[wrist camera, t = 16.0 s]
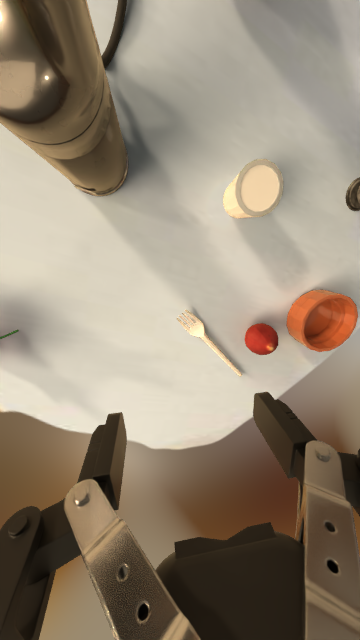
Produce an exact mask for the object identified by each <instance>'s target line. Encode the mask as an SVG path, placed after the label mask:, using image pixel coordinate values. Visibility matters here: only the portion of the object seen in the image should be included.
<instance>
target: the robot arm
mask: <svg viewBox="0 0 360 640" xmlns="http://www.w3.org/2000/svg"><path fill="white" fill-rule="evenodd" d="M126 4H127V0H118V6H117V12H116V17H115V22H114V27H113V31H112V34H111V37H110V40H109V43H108V46H107V48H106V50H105V52H104V53H103V55H102V56H101V53H100V49H99V45H98V42H97V38H96V34H95V31H94V27H93V24H92V20H91V16H90V12H89V8H88V4H87V1H86V0H0V123H1V124H2V125H3V126H5V127H6V128H7V129H8V130H9V131H11V132H12V133H13V134H14V135H15V136H17V137H18V138H19V139H20V140H21V141H23V142H24V143H25V144H26V145H28V146H29V147H30V148H31V149H33V150H34V151H35V152H36V153H37V154H39V155H40V156H41V157H42V158H43V159H45V160H46V161H47V162H48V163H50V164H51V165H52V166H53V167H54V168H56V169H57V170H58V171H59V172H60V173H62V174H63V175H64V176H65V177H66V178H68V179H69V180H70V181H71V182H72V183H73V184H74V185H75V186H74V187H76V188H77V189H80V190H82V191H83V192H85V193H87V194H90V195H94V196H106V195H109V194H112V193H114V192H115V191H117V190H118V189H119V188H120V187H121V186H122V184H123V183H124V181H125V179H126V176H127V172H128V155H127V151H126V147H125V144H124V142H123V138H122V134H121V130H120V126H119V122H118V118H117V114H116V111H115V107H114V103H113V99H112V95H111V91H110V87H109V83H108V80H107V76H106V73H105V68H106V67H107V66H108V65H109V63H110V61H111V59H112V57H113V55H114V53H115V50H116V48H117V45H118V42H119V39H120V35H121V31H122V27H123V22H124V17H125V11H126ZM253 416H254V420H255V423H256V425H257V427H258V428H259V430H260V432H261V433H262V435H263V437H264V438H265V440H266V442H267V443H268V445H269V447H270V449H271V450H272V452H273V454H274V455H275V457H276V458H277V460H278V462H279V464H280V465H281V467H282V469H283V470H284V472H285V474H286V475H287V477H288V478H293V477H296V478H297V479H298V481H299V490H298V513H297V528H296V537H295V539H294V538H292V537H290V536H288V535H285V534H283V533H279V532H275V531H274V530H273V527H272V525H271V523H270V522H269V523H264V524H259V525H254V526H250V527H247V528H245V529H243V530H242V531H240V532H239V533H237V534H236V535H234V536H232V537H231V538H229V539H228V540H217V539H209V538H201V537H197V538H192V539H188V540H183V541H178V542H175V552H174V553H172V554H171V555H169V556H168V557H167V558H166V559H165V560H164V561H163V562H162V563H161V564H160V565H159V566H158V567H157V569H156V570H154V568H153V566H152V565H151V563H150V562H149V560H148V558H147V557H146V555H145V553H144V552H143V550H142V549H141V547H140V545H139V544H138V542H137V541H136V539H135V538H134V536H133V534H132V533H131V531H130V529H129V528H128V526H127V525H126V523H125V522H124V520H123V519H121V520H120V519H119V517H118V516H117V514H116V513H115V511H114V510H118V508H119V499H120V492H121V484H122V476H123V468H124V459H125V451H126V442H127V437H126V429H125V424H124V419H123V414H122V412H120V413H113V414H108V417H107V420H106V424H105V425H99V426H98V427H97V429H96V430H95V431H94V433H93V434H92V437H91V441H90V444H89V447H88V452H87V454H86V457H85V460H84V463H83V466H82V470H81V473H80V476H79V479H78V482H77V484H76V485H75V486H74V487H73V488H72V489H71V490H70V491H69V492H68V494H67V496H66V498H64V499H63V500H62V501H60V502H58V503H56V504H54V505H52V506H50V507H48V508H46V509H44V510H42V511H40V510H39V509H38V508H37V507H34V506H30V507H26V508H23V509H21V510H19V511H18V512H16V513H15V514H14V515H13V516H12V517H10V518H9V519H8V520H7V521H6V523H5V524H4V525H3V527H2V528H1V530H0V640H39V636H40V632H41V628H42V624H43V620H44V616H45V612H46V608H47V604H48V600H49V596H50V592H51V588H52V584H53V580H54V576H55V572H56V569H58V568H60V567H61V566H63V565H64V564H66V563H68V562H69V561H71V560H73V559H74V558H76V557H77V556H79V555H81V556H82V558H83V561H84V563H85V565H86V568H87V570H88V573H89V575H90V578H91V580H92V583H93V585H94V588H95V590H96V592H97V595H98V597H99V600H100V603H101V605H102V608H103V610H104V613H105V616H106V618H107V620H108V623H109V626H110V628H111V630H112V633H113V635H114V638H115V640H360V557H359V550H358V544H357V537H356V531H355V524H354V518H353V511H352V506H353V507H354V509H355V510H356V512H357V513H358V514H359V516H360V449H359V451H358V454H357V455H354V454H347V453H340V452H337V451H336V450H335V449H334V448H332V447H331V446H330V445H328V444H326V443H324V442H321V441H317V439H316V438H315V437H314V436H313V435H312V434H311V433H310V431H309V430H308V429H307V428H306V427H305V426H304V424H303V423H302V422H301V421H300V420H299V419H298V418H297V416H296V415H295V414H294V413H293V412H292V410H291V409H290V408H289V407H288V406H287V405H286V404H285V403H283V402H281V401H280V400H278V399H277V400H274V398H273V397H272V396H271V395H270V393H268V392H263V393H256V394H255V395H254V409H253Z"/></svg>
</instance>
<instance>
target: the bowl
mask: <svg viewBox="0 0 360 640" xmlns="http://www.w3.org/2000/svg"><path fill="white" fill-rule="evenodd" d="M357 318H358V313H357V307H356V304H355V303H354V302H353V301H352V299H351V298H350V297H347V296H344V295H342V294H338V293H334V292H330V291H326V290H312V291H310V292H308V293H306V294H304V295H302V296H301V297H300V298H299V299H298V300H297V301H296V302H295V303H294V304H293V305H292V307H291V309H290V311H289V313H288V316H287V328H288V331H289V334H290V335H291V336H292V337H293V338H294V339H295V340H297V341H298V342H300V343H301V344H303V345H304V346H306V347H307V348H309V349H311V350H315V351H318V352H322V351H330V350H332V349H334V348H336V347H338V346H340V345H341V344H342V343H343V342H344V341H346V340H347V339H348V338H349V337H350V335H351V333H352V332H353V330H354V328H355V326H356V322H357Z"/></svg>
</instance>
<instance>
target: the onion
mask: <svg viewBox="0 0 360 640" xmlns="http://www.w3.org/2000/svg"><path fill="white" fill-rule="evenodd" d="M245 343H246V346H247V347H248V348H249V349H250V350H251V351H252V352H254V353H256V354H259V355H267V354H270V353H272V352H273V351H274V350H275V349H276V348H277V346H278V336H277V333H276V331H275V330H274V329H273V328H272V327H271V326H269V325H266V324H263V323H261V324H255V325H252V326H251V327H250V328H249V329H248V330H247V332H246V335H245Z"/></svg>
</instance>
